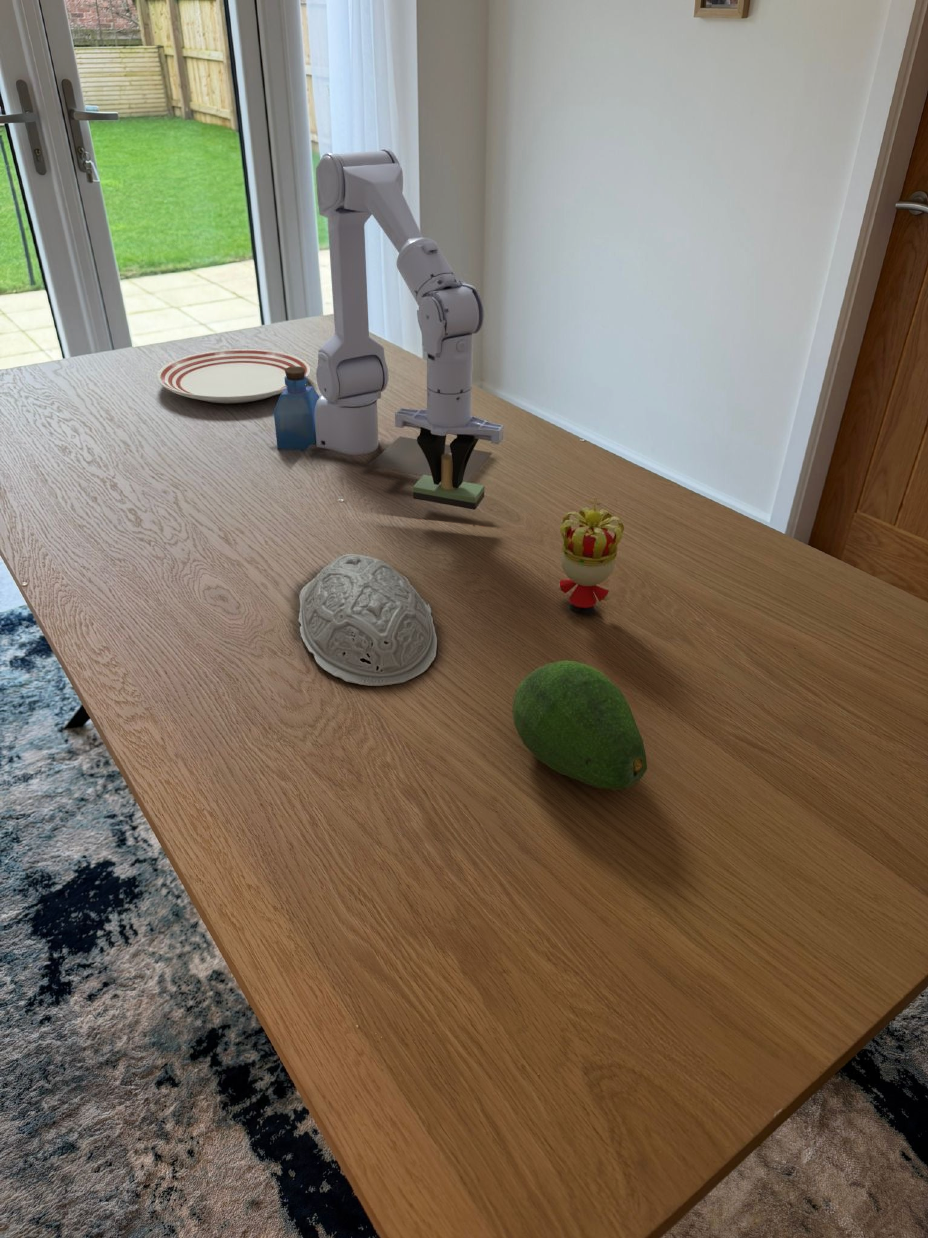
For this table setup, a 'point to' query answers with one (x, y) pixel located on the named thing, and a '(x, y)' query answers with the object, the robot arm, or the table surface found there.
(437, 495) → the brush
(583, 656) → the table surface
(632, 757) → the fruit
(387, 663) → the grey turtle shell
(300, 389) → the perfume bottle
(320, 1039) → the table surface
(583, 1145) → the table surface
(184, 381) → the dinner plate
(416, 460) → the tray
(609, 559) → the toy
